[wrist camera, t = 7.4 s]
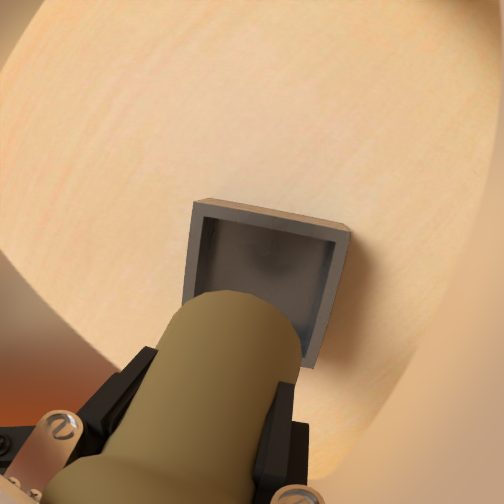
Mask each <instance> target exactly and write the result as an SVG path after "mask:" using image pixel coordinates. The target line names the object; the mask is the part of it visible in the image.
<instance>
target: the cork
mask: <svg viewBox="0 0 504 504" xmlns="http://www.w3.org/2000/svg"><path fill="white" fill-rule="evenodd" d="M155 349H157V350H158V352H157V354H156V356H155V357H154V359H153V361H152V363H151V365H150V367H149V369H148V371H147V373H146V375H145V377H144V379H143V381H142V383H141V385H140V387H139V388H138V390H137V392H136V394H135V395H134V397H133V399H132V400H131V402H130V404H129V406H128V407H127V409H126V411H125V413H124V414H123V416H122V418H121V420H120V421H119V423H118V425H117V427H116V428H115V430H114V432H113V434H112V435H111V436H110V437H108V439H107V441H106V443H105V445H104V447H103V449H102V451H101V453H100V454H99V455H93V456H87V457H81V458H79V459H78V460H76V461H75V462H73V463H71V464H70V465H68V466H67V467H65V468H64V469H62V470H61V471H59V472H58V473H57V474H56V475H55V477H54V478H53V479H52V480H51V481H50V483H49V484H48V485H47V486H46V487H45V488H44V491H43V493H42V497H41V500H40V502H39V504H253V503H254V499H255V495H256V491H257V488H256V486H255V483H254V480H253V479H252V477H253V473H254V468H255V464H256V460H257V455H258V451H259V446H260V442H261V437H262V433H263V428H264V423H265V418H266V415H267V413H268V411H269V409H270V406H271V404H272V402H273V400H274V398H275V395H276V393H277V390H278V384H279V381H282V382H287V383H292V384H295V385H296V381H297V378H298V374H299V370H300V366H301V362H302V351H301V344H300V339H299V337H298V335H297V333H296V331H295V330H294V328H293V326H292V324H291V322H290V320H288V319H287V318H286V317H285V316H284V315H283V314H282V313H281V312H280V311H279V310H278V309H277V308H275V307H274V306H273V305H272V304H270V303H268V302H266V301H264V300H262V299H260V298H258V297H256V296H254V295H252V294H248V293H242V292H236V291H231V290H223V291H214V292H206V293H203V294H201V295H199V296H197V297H195V298H193V299H191V300H189V301H187V302H186V303H185V304H184V305H183V306H182V307H181V308H180V309H179V310H178V311H177V312H176V313H175V314H174V316H173V317H172V319H171V321H170V323H169V325H168V326H167V328H166V330H165V332H164V334H163V335H162V337H161V339H160V341H159V343H158V344H157V346H156V348H155Z"/></svg>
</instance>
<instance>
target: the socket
mask: <svg viewBox="0 0 504 504" xmlns="http://www.w3.org/2000/svg"><path fill="white" fill-rule="evenodd" d="M350 236H351V231H350V230H349V229H348V228H347V227H346V226H345V225H344V224H341V223H337V222H332V221H328V220H323V219H318V218H313V217H308V216H303V215H299V214H294V213H288V212H283V211H278V210H273V209H268V208H263V207H257V206H252V205H246V204H241V203H235V202H230V201H224V200H218V199H212V198H207V199H203V200H198V201H194V202H193V209H192V217H191V224H190V232H189V240H188V249H187V258H186V267H185V276H184V286H183V297H182V306H183V305H184V304H185V303H186V302H187V301H189V300H191V299H193V298H195V297H197V296H199V295H201V294H203V293H206V292H214V291H223V290H231V291H236V292H242V293H248V294H252V295H254V296H256V297H258V298H260V299H262V300H264V301H266V302H268V303H270V304H272V305H273V306H274V307H275V308H277V309H278V310H279V311H280V312H281V313H282V314H283V315H284V316H285V317H286V318H287V319H288V320H290V322H291V324H292V326H293V328H294V330H295V331H296V333H297V335H298V337H299V339H300V344H301V351H302V362H301V366H300V367H306V368H311V369H314V366H315V363H316V359H317V356H318V353H319V350H320V347H321V344H322V341H323V337H324V334H325V331H326V327H327V324H328V321H329V317H330V314H331V310H332V307H333V303H334V299H335V296H336V292H337V288H338V285H339V281H340V277H341V273H342V269H343V265H344V261H345V257H346V253H347V249H348V245H349V240H350Z"/></svg>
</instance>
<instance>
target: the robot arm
mask: <svg viewBox="0 0 504 504" xmlns="http://www.w3.org/2000/svg"><path fill="white" fill-rule="evenodd" d="M157 352H158V350H157V349H154V348H150V347H147V346H145V347H144V348H143V349H142V350H141V351H140V352H139V353H138V354H137V355H136V356H135V357H134V358H133V360H132V361H131V362H130V363H129V364H128V365H127V366H126V367H125V368H124V369H123V370H122V372H121V373H118V372H117V373H114V374H113V375H112V376H111V377H110V378H109V379H108V380H107V381H106V382H105V383H104V384H103V385H102V386H101V387H100V388H99V390H98V391H97V392H96V393H95V394H94V395H93V396H92V397H91V398H90V399H89V400H88V401H87V402H86V403H85V405H84V406H83V407H82V408H81V409H80V410H79V411H78V412H77V413H76V414H73V413H72V412H69V411H65V410H55V411H51V412H49V413H47V414H46V415H45V416H44V417H43V418H42V419H41V420H40V421H39V423H38V424H37V426H20V427H0V504H39V502H40V500H41V497H42V493H43V491H44V488H45V487H46V486H47V485H48V484H49V483H50V481H51V480H52V479H53V478H54V477H55V475H56V474H57V473H58V472H59V471H61V470H62V469H64V468H65V467H67V466H68V465H70V464H71V463H73V462H75V461H76V460H78V459H79V458H81V457H87V456H93V455H99V454H100V453H101V451H102V449H103V447H104V445H105V443H106V441H107V439H108V437H110V436H111V435H112V434H113V432H114V430H115V428H116V427H117V425H118V423H119V421H120V420H121V418H122V416H123V414H124V413H125V411H126V409H127V407H128V406H129V404H130V402H131V400H132V399H133V397H134V395H135V394H136V392H137V390H138V388H139V387H140V385H141V383H142V381H143V379H144V377H145V375H146V373H147V371H148V369H149V367H150V365H151V363H152V361H153V359H154V357H155V356H156V354H157ZM294 388H295V384H292V383H287V382H282V381H279V384H278V390H277V393H276V395H275V398H274V400H273V402H272V404H271V406H270V409H269V411H268V413H267V415H266V418H265V423H264V428H263V433H262V437H261V442H260V446H259V451H258V455H257V460H256V464H255V468H254V473H253V477H252V479H253V480H254V483H255V486H256V488H257V491H256V495H255V499H254V503H253V504H325V502H324V500H323V497H322V496H321V495H320V494H319V493H318V492H317V491H316V490H314V489H312V488H311V487H308V486H307V477H308V453H309V424H308V423H302V422H296V421H292V413H293V401H294Z"/></svg>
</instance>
